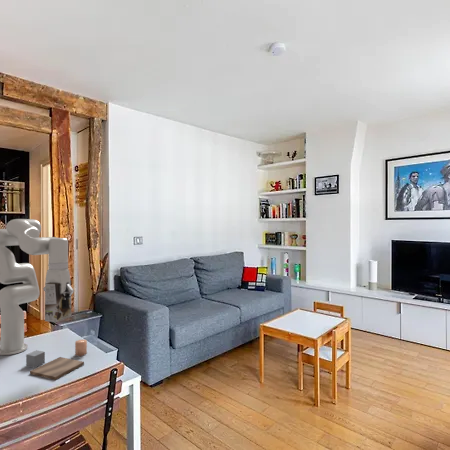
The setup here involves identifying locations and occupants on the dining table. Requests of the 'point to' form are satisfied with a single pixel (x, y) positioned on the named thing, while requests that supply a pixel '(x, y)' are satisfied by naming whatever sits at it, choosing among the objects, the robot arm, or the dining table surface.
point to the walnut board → (57, 368)
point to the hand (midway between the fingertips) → (58, 307)
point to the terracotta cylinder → (80, 347)
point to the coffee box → (55, 303)
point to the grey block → (35, 358)
